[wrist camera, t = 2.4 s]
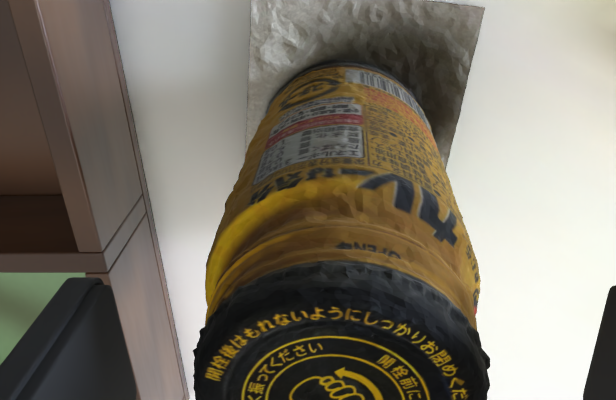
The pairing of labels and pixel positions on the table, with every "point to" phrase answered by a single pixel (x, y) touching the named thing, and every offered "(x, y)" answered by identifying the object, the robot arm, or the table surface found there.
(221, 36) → the table surface
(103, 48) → the holder
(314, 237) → the condiment
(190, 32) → the table surface
